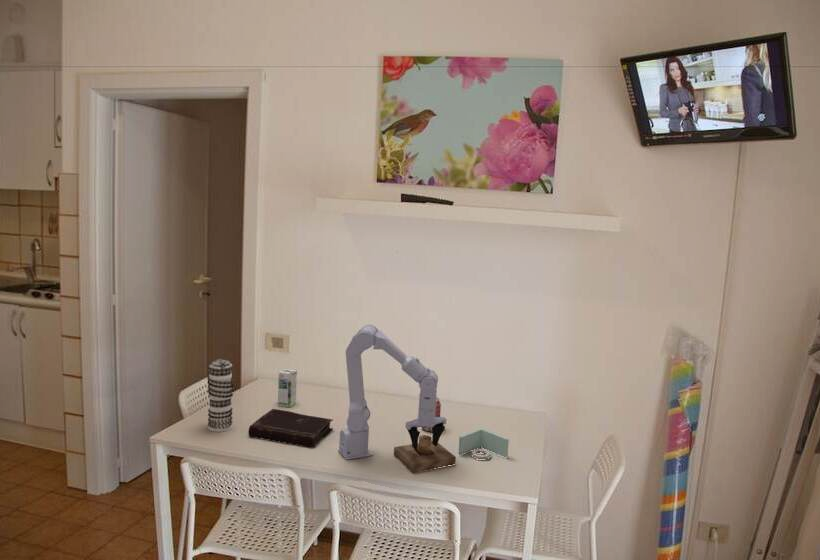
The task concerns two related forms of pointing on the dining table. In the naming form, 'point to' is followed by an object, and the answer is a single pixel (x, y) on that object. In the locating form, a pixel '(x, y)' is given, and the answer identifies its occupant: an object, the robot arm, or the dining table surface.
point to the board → (424, 457)
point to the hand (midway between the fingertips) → (424, 446)
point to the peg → (424, 445)
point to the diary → (290, 427)
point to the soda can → (437, 414)
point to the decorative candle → (220, 395)
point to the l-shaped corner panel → (483, 444)
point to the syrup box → (287, 387)
